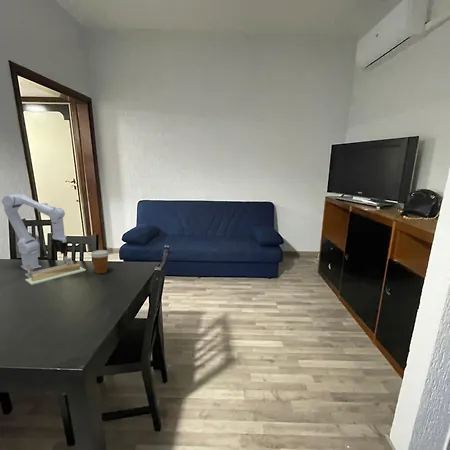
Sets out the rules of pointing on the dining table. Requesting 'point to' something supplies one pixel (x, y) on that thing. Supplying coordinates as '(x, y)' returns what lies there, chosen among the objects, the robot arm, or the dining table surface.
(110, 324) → the dining table surface
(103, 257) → the disposable coffee cup
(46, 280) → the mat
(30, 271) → the rack
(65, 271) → the rail
